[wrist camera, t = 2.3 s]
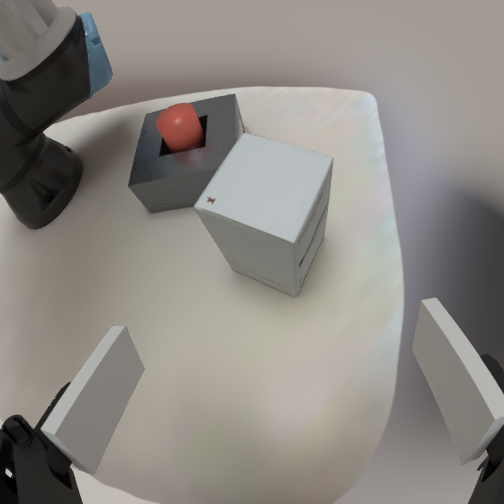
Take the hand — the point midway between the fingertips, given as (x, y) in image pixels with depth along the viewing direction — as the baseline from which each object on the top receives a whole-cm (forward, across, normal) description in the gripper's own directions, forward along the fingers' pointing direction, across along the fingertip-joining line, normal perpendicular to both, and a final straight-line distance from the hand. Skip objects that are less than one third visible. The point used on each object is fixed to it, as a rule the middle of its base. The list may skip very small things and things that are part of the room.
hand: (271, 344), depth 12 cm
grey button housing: (+28, -9, +6) cm, 30 cm away
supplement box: (+19, 0, -4) cm, 19 cm away
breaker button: (+25, -9, +9) cm, 28 cm away
